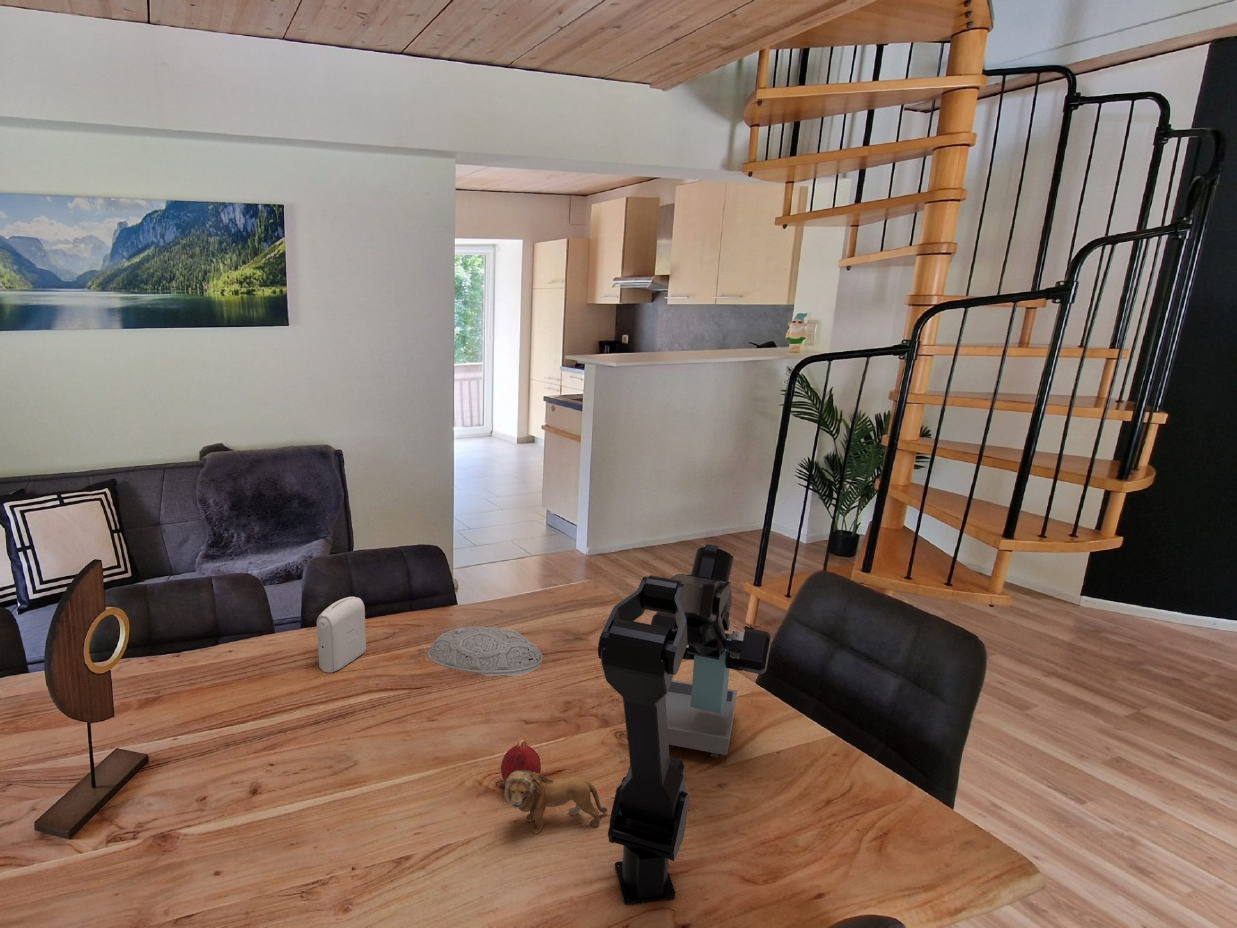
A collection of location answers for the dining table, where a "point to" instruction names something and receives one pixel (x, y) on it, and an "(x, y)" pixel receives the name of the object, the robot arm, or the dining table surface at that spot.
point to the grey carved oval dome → (485, 651)
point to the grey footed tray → (698, 721)
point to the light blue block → (710, 683)
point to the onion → (520, 760)
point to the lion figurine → (550, 795)
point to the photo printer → (341, 634)
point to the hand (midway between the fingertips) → (713, 659)
